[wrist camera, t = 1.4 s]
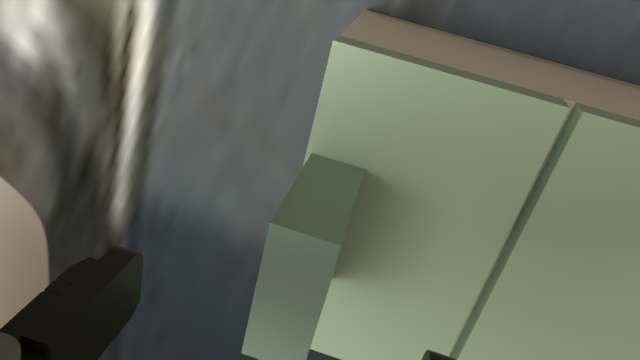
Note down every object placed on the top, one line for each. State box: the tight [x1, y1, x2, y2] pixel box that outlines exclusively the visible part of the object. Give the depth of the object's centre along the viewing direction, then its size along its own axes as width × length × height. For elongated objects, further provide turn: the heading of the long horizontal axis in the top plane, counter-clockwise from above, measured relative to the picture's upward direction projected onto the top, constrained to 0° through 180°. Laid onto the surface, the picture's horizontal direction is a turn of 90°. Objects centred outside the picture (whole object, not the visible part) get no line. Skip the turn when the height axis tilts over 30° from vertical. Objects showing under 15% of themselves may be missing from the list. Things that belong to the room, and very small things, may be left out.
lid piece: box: [241, 35, 570, 360], centre depth 17 cm, size 8×13×7 cm, turn 167°
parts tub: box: [339, 10, 640, 360], centre depth 22 cm, size 16×13×8 cm
